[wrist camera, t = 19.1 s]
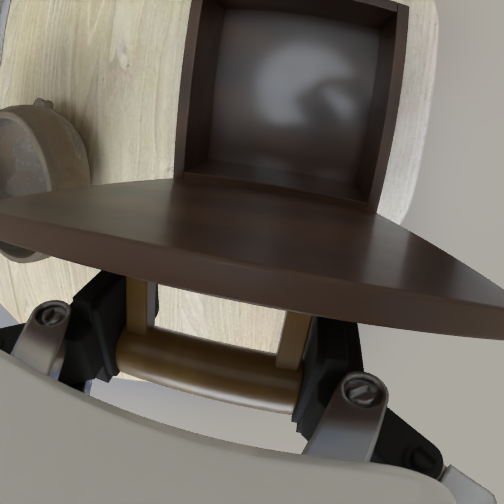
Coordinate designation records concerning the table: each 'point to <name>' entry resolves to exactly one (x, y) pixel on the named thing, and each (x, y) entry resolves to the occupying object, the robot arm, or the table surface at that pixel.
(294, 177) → the chest
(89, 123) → the table surface
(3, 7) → the grey plastic case
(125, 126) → the table surface
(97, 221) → the lid
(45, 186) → the bowl
